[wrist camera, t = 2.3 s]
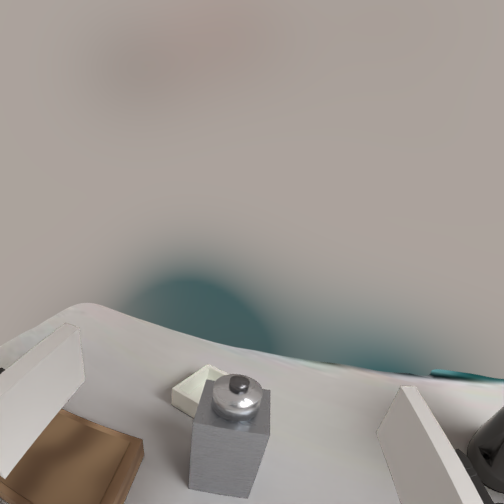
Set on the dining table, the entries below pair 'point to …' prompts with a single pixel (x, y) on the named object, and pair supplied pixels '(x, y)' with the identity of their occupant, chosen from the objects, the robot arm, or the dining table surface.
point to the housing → (229, 435)
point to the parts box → (193, 389)
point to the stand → (74, 465)
